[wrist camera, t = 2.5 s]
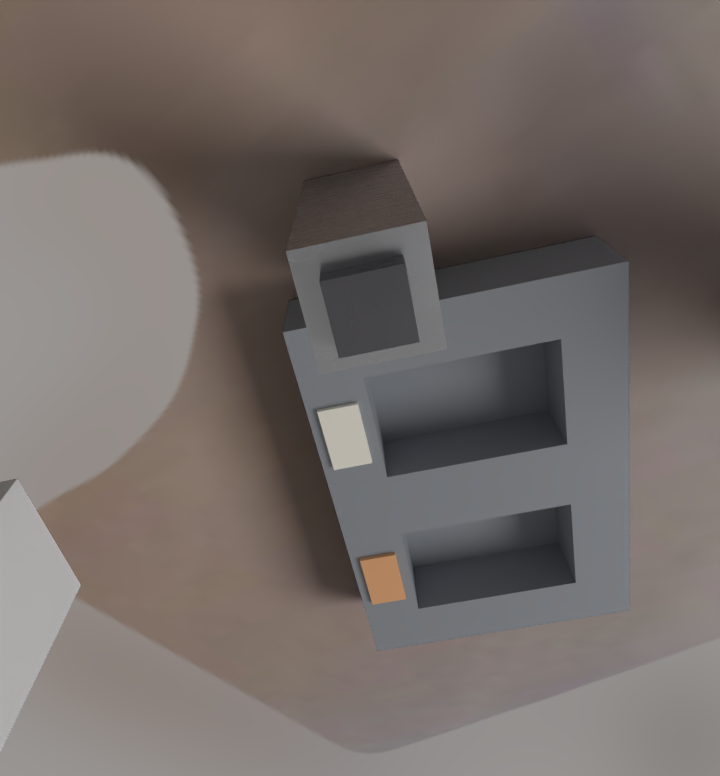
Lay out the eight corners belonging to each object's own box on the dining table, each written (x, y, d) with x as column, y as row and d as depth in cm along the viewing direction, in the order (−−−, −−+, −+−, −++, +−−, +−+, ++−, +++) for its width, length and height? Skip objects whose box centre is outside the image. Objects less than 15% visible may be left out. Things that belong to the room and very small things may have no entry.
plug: (304, 180, 26) (282, 260, 17) (398, 159, 26) (430, 228, 17) (326, 270, 28) (318, 387, 19) (414, 251, 28) (451, 360, 18)
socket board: (289, 300, 29) (282, 334, 26) (596, 235, 28) (631, 262, 24) (374, 601, 38) (377, 654, 35) (605, 562, 37) (631, 613, 34)
